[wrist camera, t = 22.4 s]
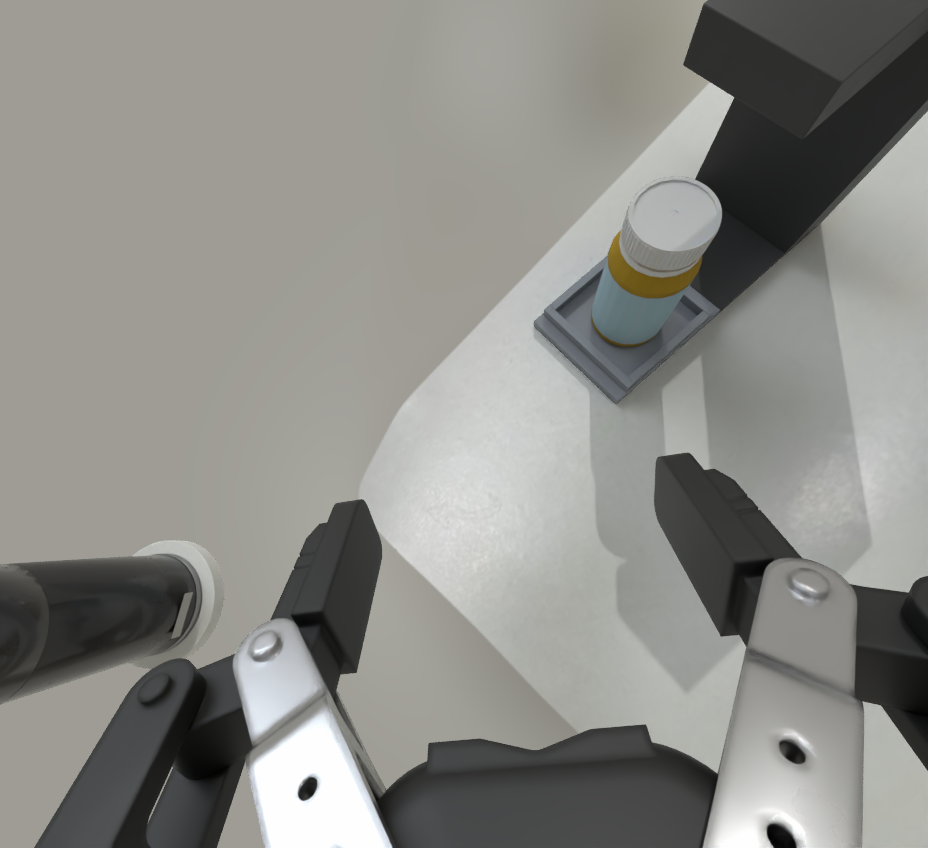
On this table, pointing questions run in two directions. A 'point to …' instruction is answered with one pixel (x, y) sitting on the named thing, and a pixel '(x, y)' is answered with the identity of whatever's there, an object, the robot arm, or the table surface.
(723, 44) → the coffee maker
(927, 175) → the table surface
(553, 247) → the table surface
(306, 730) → the robot arm
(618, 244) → the bottle
